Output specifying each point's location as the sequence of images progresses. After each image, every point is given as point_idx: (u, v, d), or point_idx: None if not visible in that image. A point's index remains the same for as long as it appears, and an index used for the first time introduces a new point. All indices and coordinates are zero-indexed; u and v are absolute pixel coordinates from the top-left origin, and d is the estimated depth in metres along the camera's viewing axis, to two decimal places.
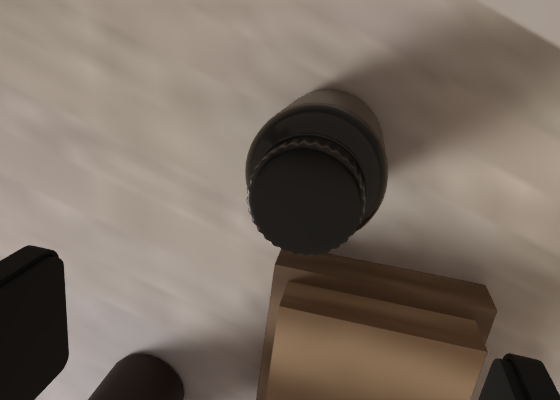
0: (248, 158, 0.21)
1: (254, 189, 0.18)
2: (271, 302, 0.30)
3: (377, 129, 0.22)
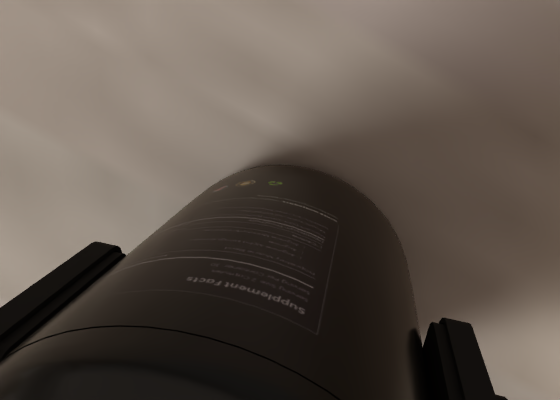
0: None
1: None
2: None
3: (409, 344, 0.07)
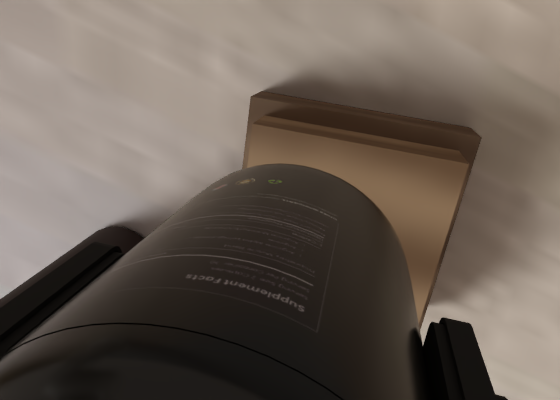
0: None
1: None
2: (247, 142, 0.29)
3: (409, 342, 0.07)
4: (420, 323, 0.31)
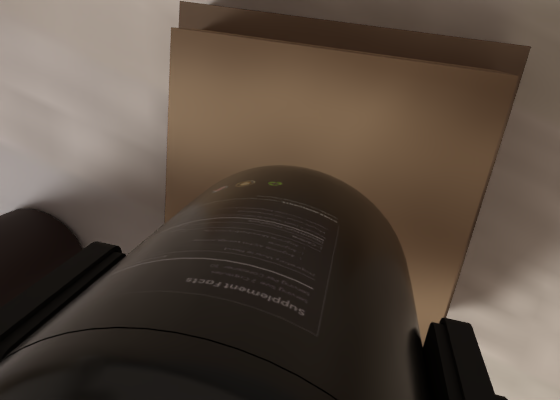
0: None
1: None
2: None
3: (409, 345, 0.07)
4: None
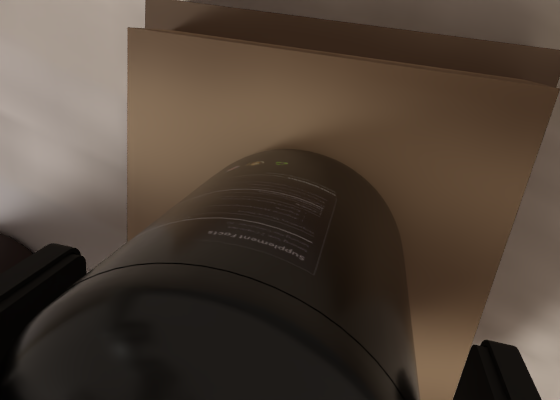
0: None
1: None
2: None
3: (394, 295, 0.08)
4: None
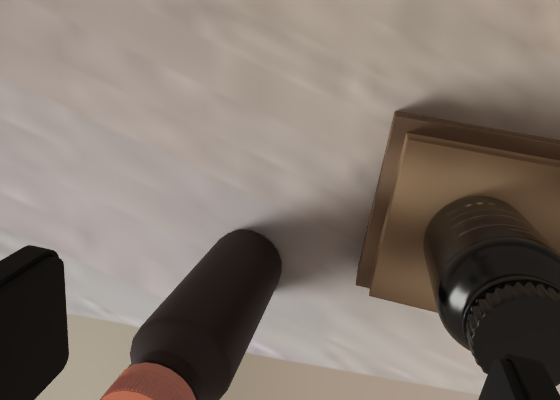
0: (446, 282, 0.22)
1: (481, 329, 0.19)
2: (388, 155, 0.33)
3: None
4: None
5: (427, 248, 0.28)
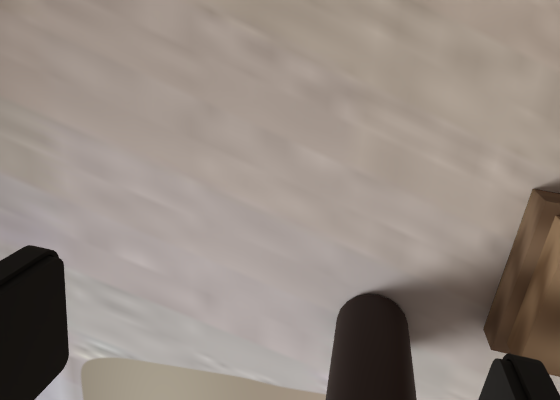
0: None
1: None
2: (534, 236, 0.34)
3: None
4: None
5: None
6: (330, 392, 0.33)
